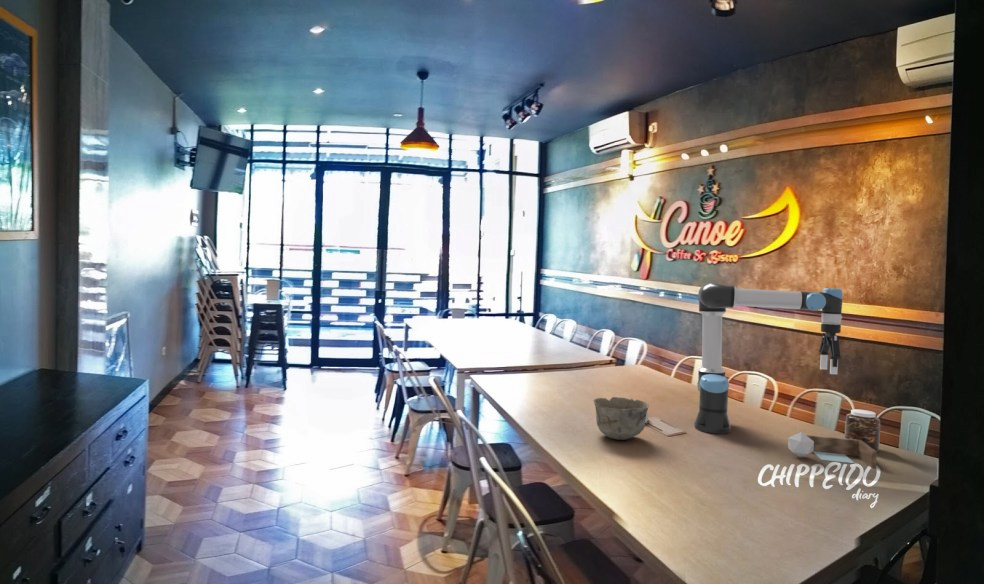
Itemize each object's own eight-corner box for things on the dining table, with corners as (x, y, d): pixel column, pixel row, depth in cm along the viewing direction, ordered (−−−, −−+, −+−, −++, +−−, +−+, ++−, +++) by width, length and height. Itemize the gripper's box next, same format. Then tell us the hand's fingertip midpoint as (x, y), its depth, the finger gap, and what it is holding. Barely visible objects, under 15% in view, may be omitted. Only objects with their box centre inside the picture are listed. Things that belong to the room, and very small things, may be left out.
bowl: (651, 436, 246) (652, 400, 245) (641, 449, 226) (643, 410, 226) (599, 428, 255) (601, 394, 255) (586, 441, 235) (587, 403, 235)
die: (816, 462, 217) (818, 435, 217) (790, 460, 219) (792, 433, 218) (809, 455, 225) (810, 429, 225) (784, 453, 227) (785, 427, 227)
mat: (821, 460, 219) (821, 459, 219) (813, 452, 230) (813, 451, 230) (854, 463, 217) (854, 462, 217) (844, 455, 227) (844, 454, 227)
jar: (874, 446, 241) (875, 410, 241) (882, 454, 230) (884, 416, 230) (841, 442, 245) (843, 407, 244) (848, 450, 234) (850, 413, 233)
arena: (814, 462, 217) (815, 445, 217) (803, 449, 233) (804, 434, 233) (875, 468, 212) (876, 451, 212) (860, 455, 228) (860, 439, 228)
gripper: (850, 326, 244) (848, 377, 244) (831, 321, 268) (828, 368, 269) (830, 325, 245) (828, 375, 246) (813, 320, 270) (810, 366, 270)
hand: (828, 371), depth 257 cm, fingers open, 13 cm apart
